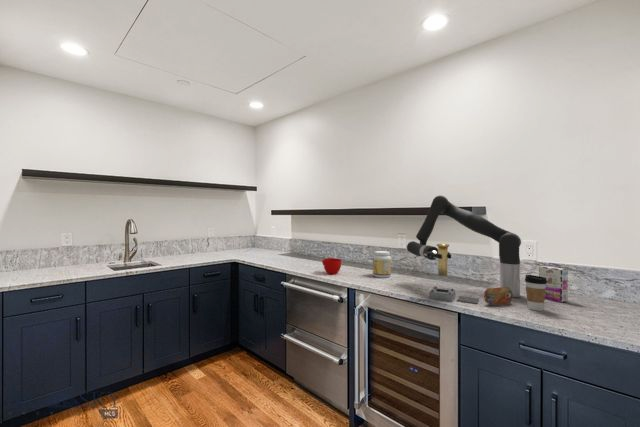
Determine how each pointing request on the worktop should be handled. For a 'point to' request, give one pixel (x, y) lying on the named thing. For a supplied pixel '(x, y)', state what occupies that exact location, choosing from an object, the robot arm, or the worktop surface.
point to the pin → (443, 259)
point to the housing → (442, 294)
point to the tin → (498, 295)
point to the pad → (468, 299)
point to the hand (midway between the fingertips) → (445, 256)
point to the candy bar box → (555, 283)
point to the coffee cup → (535, 292)
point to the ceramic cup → (332, 265)
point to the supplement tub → (382, 264)
